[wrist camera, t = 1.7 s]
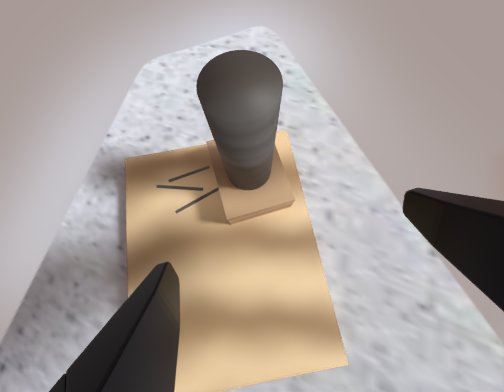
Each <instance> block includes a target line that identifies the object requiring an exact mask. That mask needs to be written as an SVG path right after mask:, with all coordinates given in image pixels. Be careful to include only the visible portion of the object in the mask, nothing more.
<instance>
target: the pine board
mask: <svg viewBox="0 0 504 392" xmlns="http://www.w3.org/2000/svg"><path fill="white" fill-rule="evenodd" d="M275 146H276V148H277V151H278V154H279V156H280V159H281V162H282V165H283V167H284V170H285V173H286V176H287V178H288V181H289V184H290V186H291V189H292V192H293V195H294V197H295V201H294V202H293V204H292V206H291V207H289V208H286V209H282V210H279V211H275V212H272V213H269V214H265V215H262V216H259V217H255V218H252V219H249V220H245V221H242V222H239V223H235V224H232V225H231V224H230V223H229V222H228V220H227V218H226V214H225V210H224V207H223V203H222V199H221V195H220V192H219V188H218V184H217V180H216V177H215V173H214V169H213V165H212V161H211V158H210V154H209V150H208V146H207V144H205V145H199V146H194V147H188V148H182V149H177V150H171V151H166V152H160V153H154V154H149V155H143V156H138V157H132V158H127V159H125V182H126V230H127V278H128V298H129V296H130V295H131V294H132V293H133V292H134V290H135V289H136V288H137V287H138V286H139V285H140V283H141V282H142V281H143V280H144V279H145V277H146V276H147V275H148V274H149V273H150V272H151V270H152V269H153V268H154V267H155V266H156V265H157V264H159V263H163V262H166V261H168V262H170V263H171V265H172V266H173V268H174V270H175V272H176V273H177V275H178V277H179V282H180V336H179V347H178V357H177V368H176V379H175V390H174V392H219V391H224V390H229V389H234V388H239V387H244V386H248V385H253V384H258V383H263V382H268V381H273V380H277V379H282V378H287V377H292V376H297V375H301V374H306V373H311V372H316V371H321V370H326V369H330V368H335V367H340V366H345V365H349V364H348V361H347V357H346V353H345V349H344V345H343V342H342V338H341V334H340V330H339V326H338V323H337V319H336V315H335V311H334V308H333V304H332V300H331V296H330V292H329V289H328V285H327V281H326V277H325V274H324V270H323V266H322V262H321V258H320V255H319V251H318V247H317V243H316V239H315V236H314V232H313V228H312V224H311V221H310V217H309V213H308V209H307V205H306V202H305V198H304V194H303V190H302V187H301V183H300V179H299V175H298V171H297V168H296V164H295V160H294V156H293V153H292V149H291V145H290V141H289V137H288V134H287V130H283V131H277V132H276V138H275Z"/></svg>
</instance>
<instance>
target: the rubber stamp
mask: <svg viewBox="0 0 504 392" xmlns="http://www.w3.org/2000/svg"><path fill="white" fill-rule="evenodd" d="M282 89H283V80H282V75H281V72H280V70H279V68H278V67H277V66H276V64H275V63H274V62H273V61H272V60H270V59H269V58H268V57H266V56H264V55H262V54H260V53H257V52H253V51H248V50H235V51H229V52H226V53H223V54H221V55H218V56H216V57H215V58H213V59H212V60H210V61H209V62H208V63H207V64H206V65H205V66H204V67H203V69H202V70H201V72H200V74H199V76H198V79H197V95H198V97H199V100H200V103H201V105H202V108H203V111H204V114H205V116H206V119H207V122H208V124H209V127H210V130H211V132H212V135H213V138H214V140H211V141H208V142H206V143H207V146H208V150H209V154H210V158H211V161H212V165H213V169H214V173H215V177H216V180H217V184H218V188H219V192H220V195H221V199H222V203H223V207H224V210H225V214H226V218H227V220H228V222H229V223H230V224H231V225H232V224H235V223H239V222H242V221H245V220H249V219H252V218H255V217H259V216H262V215H265V214H269V213H272V212H275V211H279V210H282V209H286V208H289V207H291V206H292V204H293V202H294V201H295V197H294V195H293V192H292V189H291V186H290V184H289V181H288V178H287V176H286V173H285V170H284V167H283V165H282V162H281V159H280V156H279V154H278V151H277V148H276V146H275V138H276V131H277V124H278V117H279V110H280V103H281V96H282Z"/></svg>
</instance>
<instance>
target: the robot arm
mask: <svg viewBox="0 0 504 392" xmlns="http://www.w3.org/2000/svg"><path fill="white" fill-rule="evenodd" d="M403 213H404V215H405V216H406V217H407V218H408V219H409V221H410V222H411V223H412V224H413V225H414V226H415V227H416V228H417V229H418V230H419V232H420V233H421V234H422V235H423V236H424V237H425V238H426V239H427V240H428V242H429V243H430V244H431V245H432V246H433V247H434V248H435V249H436V250H437V251H438V252H439V253H441V254H442V255H443V256H444V257H445V258H446V259H447V260H448V261H449V262H450V263H451V264H453V265H454V266H455V267H456V268H457V269H458V270H459V271H460V272H461V273H462V274H463V275H464V276H466V277H467V278H468V279H469V280H470V281H471V282H472V283H473V284H475V286H476V287H477V288H479V289H480V290H481V291H482V292H483V293H484V294H485V295H486V296H487V297H488V298H489V299H491V300H492V301H493V302H494V303H495V304H496V305H497V306H498V307H499V308H500V309H502V310H503V311H504V201H500V200H493V199H486V198H480V197H474V196H468V195H461V194H455V193H449V192H442V191H436V190H429V189H423V188H415V189H412V190H409V191H406V193H405V195H404V202H403ZM179 336H180V282H179V277H178V275H177V273H176V272H175V270H174V268H173V266H172V265H171V263H170V262H168V261H166V262H163V263H159V264H157V265H156V266H155V267H154V268H153V269H152V270H151V272H150V273H149V274H148V275H147V276H146V277H145V279H144V280H143V281H142V282H141V283H140V285H139V286H138V287H137V288H136V289H135V290H134V292H133V293H132V294H131V295H130V296H129V298H128V299H127V300H126V301H125V302H124V303H123V305H122V306H121V307H120V308H119V309H118V311H117V312H116V313H115V314H114V315H113V317H112V318H111V319H110V320H109V321H108V322H107V324H106V325H105V326H104V327H103V328H102V330H101V331H100V332H99V333H98V334H97V335H96V337H95V338H94V339H93V340H92V341H91V343H90V344H89V345H88V346H87V347H86V348H85V350H84V351H83V352H82V353H81V354H80V355H79V357H78V358H77V359H76V360H75V361H74V363H73V364H72V365H71V366H70V367H69V368H68V370H67V371H66V374H63V375H62V377H61V378H60V379H59V380H58V381H57V383H56V384H55V385H54V386H53V387H52V388H51V390H50V391H49V392H174V390H175V379H176V368H177V357H178V347H179Z"/></svg>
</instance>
